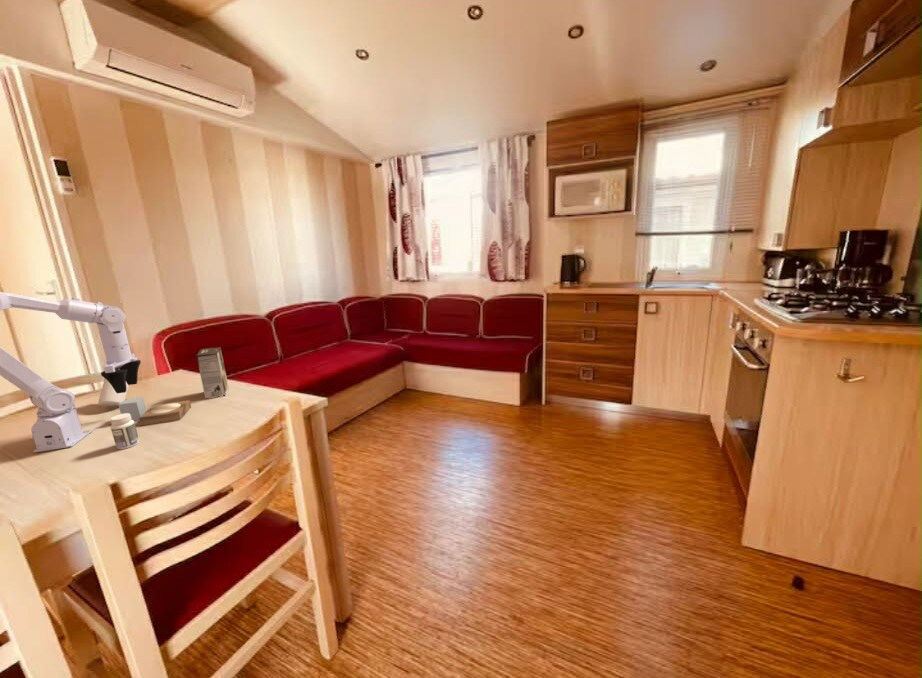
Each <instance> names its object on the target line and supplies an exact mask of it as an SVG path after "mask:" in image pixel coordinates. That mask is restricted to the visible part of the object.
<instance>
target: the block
mask: <svg viewBox="0 0 922 678" xmlns="http://www.w3.org/2000/svg"><path fill="white" fill-rule="evenodd" d="M118 408H119V413H120V414H124V413H129V414H130V415H131V420H133V421H134V422H137V421H139V422H140V420H139V418H140V417H141V416H142V415H143V414H144V413H145V412H146V411H147V410H148V409H147V406H146V403H145V399H144V397H143V396H140V397H133V398H131V397H130V398H125V400H124V401H123V402H121V403H120V404H119V406H118Z"/></svg>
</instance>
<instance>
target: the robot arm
mask: <svg viewBox="0 0 922 678" xmlns="http://www.w3.org/2000/svg"><path fill="white" fill-rule="evenodd" d="M11 308H12V309H13V308H15V309H16V308H17V309H24V310H31V311H38V312H46V313H54V314H56V315H57V317H59V318H60V319H61V320H68V321H73V322H74V321H75V322H81V323H89V324H94V323H95V324H97V325H96V326H97V327H98V333H99V337H100V341H101V344H102V347H103V348H102V349H103V352H104V355H105V361H106V362H105V365H104V366H103V371H101V372H100V374H101V375H100V376H101V377H102V378H105V379H106V380H107V381H108V382H109V383H110V384H111V385H112V387H113V388H114V390H115V392H116V393H124V392H126V382H127V384H128V385H129V386H130V385H131V386H133V385H137V384H138V376H139V374H138V373H139V368H140V366H141V363H142V362H141V360H140V359H138V357H137V356H136V355H135V353H132V352H131V348H130V347H131V346H130V343H129V339H128V335H127V332H126V328H125V324H124V322H125V321H126V319H127V314H126V313H124V311H123V310H122V309H121V308H120V307H118V306H114V305H106V304H103V302H99V301H96V302H89V301H84V300H81V298H79V297H74V296H73V297H71V298H63V299H62V300H58V301H54V300H51V299H46V298H45V299H44V298H39V297H33V296H30V295H29V296H28V295H22V294H17V293H12V292H5V291H0V311H4V310H7V309H11ZM0 377H2V378H3V379H5V380H7V381H8V382H9V383H11V384H12V385H13V386H15V387H16V388H18V389H19V390H20V391H22V392H23V393H24V394H26V395H27V396H28V397H29V399H30V403H31V404H33V406H35V407H38V409H37V411H36V417H37V419H36V421H35V423H34V424H33V425H32V427H31V435H32V437H33V440H34V444H35V445H36V448H35V449H34V450H33V453H40V452H46V451H55V450H59V449H65V448H71V447H73V446H75V445H76V444H77V443H79V442H80V441H81V440H83V439H84V438H85V437H87V436H88V435H89V434H90V433H92V430H90V429H88V430H83V427H82V425H81V421H80V418H79V414H78V411H77V407H76V404H75V403H76V396H75V393H73V392H72V391H71V390H67V389H63V388H61V387H60V386H57V385H54V384H53V383H51V382H50V381H49V380H47V379H45V378H44V377H42V376H41V375H40V374H38V373H37V372H36V371H35V370H32V369H31V368H30V367H28V365H26V364H25V363H23V362H22V361H20V360H19V359H18V358H16V357H15V356H14V355H12V354H11V353H10V352H8V351H7V350H6V349H4V348H3V347H1V346H0Z"/></svg>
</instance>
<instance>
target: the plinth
mask: <svg viewBox="0 0 922 678" xmlns="http://www.w3.org/2000/svg"><path fill="white" fill-rule="evenodd" d="M190 409H192V404H191V400H190V399H189V400H182V401H180V400H179V401H173V402H167V403H160V404H153V405H151V407H149V408H148V409H146V410H147V411H146V412H145V413H144V414H143V415H142V416H141V417H140V418H139V423H140V426H146V425H147V426H149V425H154V424H160V423H168V422H174V421H181V420H182V419H183V417H185V415H186V414H187V413H188V412H189V411H190Z"/></svg>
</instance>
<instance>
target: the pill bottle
mask: <svg viewBox="0 0 922 678" xmlns="http://www.w3.org/2000/svg"><path fill="white" fill-rule="evenodd" d="M110 423H111V425H110V431H111V434H112V438H113V441H114V444H115V447H116V449H118V450H125V449H126V450H127V449H129V448H132V447H135V446H137V445H138V444H139V443H140V438H139V434H138V430H137V426H136V423H135V421H133V420H131V415H130V414H129V413H124V414H121V413H120V414H119V413H118V414H117V415H114V416H112V417H111V418H110Z"/></svg>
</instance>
